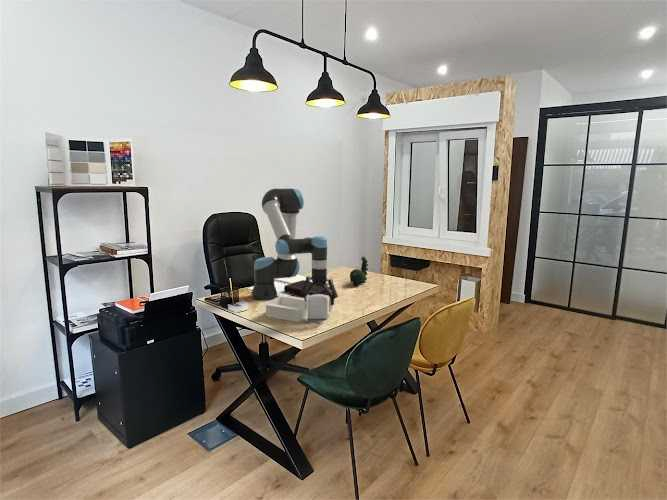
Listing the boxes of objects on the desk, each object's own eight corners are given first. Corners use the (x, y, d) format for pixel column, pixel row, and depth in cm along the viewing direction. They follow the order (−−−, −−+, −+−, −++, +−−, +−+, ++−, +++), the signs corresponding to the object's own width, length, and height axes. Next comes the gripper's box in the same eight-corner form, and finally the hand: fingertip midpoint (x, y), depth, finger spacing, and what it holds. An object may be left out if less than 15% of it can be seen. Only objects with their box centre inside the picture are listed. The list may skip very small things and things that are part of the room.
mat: (306, 321, 197) (306, 320, 197) (317, 314, 208) (317, 313, 207) (319, 323, 194) (319, 322, 194) (329, 316, 205) (329, 315, 205)
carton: (263, 317, 201) (263, 304, 199) (282, 307, 218) (282, 295, 217) (295, 323, 193) (295, 310, 192) (313, 312, 210) (313, 299, 209)
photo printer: (307, 319, 198) (308, 295, 196) (307, 316, 202) (307, 293, 200) (328, 319, 199) (328, 295, 197) (327, 316, 203) (327, 293, 201)
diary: (313, 301, 233) (313, 292, 232) (283, 293, 249) (283, 285, 248) (333, 294, 247) (333, 286, 246) (304, 287, 263) (304, 279, 262)
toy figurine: (357, 281, 285) (345, 286, 262) (359, 255, 284) (347, 258, 261) (370, 283, 282) (359, 288, 259) (372, 256, 280) (360, 259, 257)
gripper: (294, 266, 198) (294, 308, 201) (338, 271, 188) (338, 315, 192) (301, 264, 205) (301, 304, 208) (344, 268, 195) (344, 310, 198)
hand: (319, 309), depth 200 cm, fingers open, 12 cm apart
